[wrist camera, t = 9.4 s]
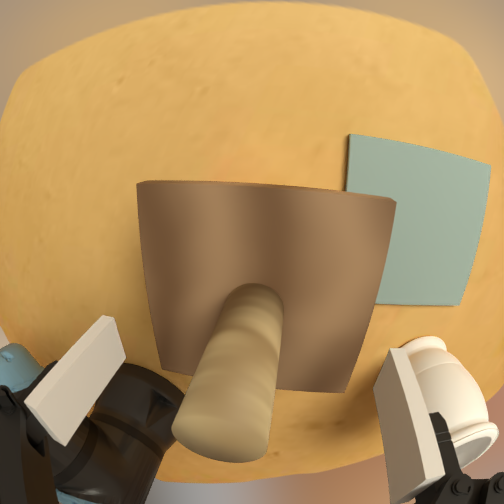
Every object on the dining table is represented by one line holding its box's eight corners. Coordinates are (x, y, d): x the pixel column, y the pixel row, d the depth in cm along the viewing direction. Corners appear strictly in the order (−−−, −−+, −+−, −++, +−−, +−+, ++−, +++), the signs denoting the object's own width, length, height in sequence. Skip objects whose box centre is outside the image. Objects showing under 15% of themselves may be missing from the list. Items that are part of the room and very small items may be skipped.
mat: (331, 297, 26) (331, 301, 25) (349, 134, 20) (350, 133, 20) (457, 302, 24) (459, 305, 23) (487, 164, 18) (491, 165, 18)
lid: (167, 359, 21) (112, 459, 11) (146, 180, 16) (5, 235, 6) (342, 381, 19) (351, 500, 10) (389, 197, 14) (505, 283, 4)
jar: (403, 319, 26) (451, 436, 12) (465, 333, 25) (517, 423, 11) (361, 386, 30) (375, 492, 16) (422, 392, 29) (448, 481, 15)
